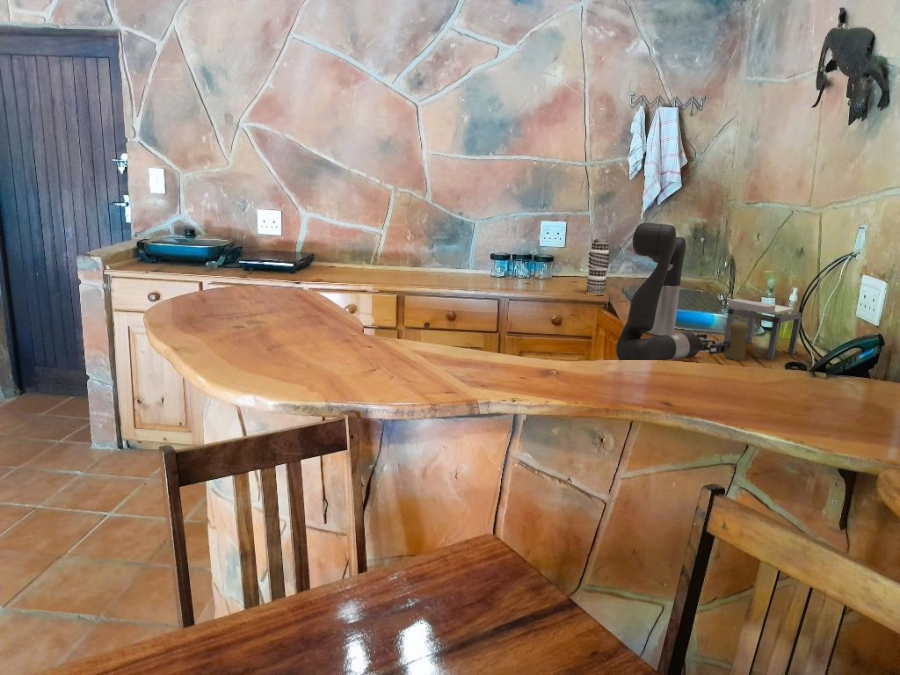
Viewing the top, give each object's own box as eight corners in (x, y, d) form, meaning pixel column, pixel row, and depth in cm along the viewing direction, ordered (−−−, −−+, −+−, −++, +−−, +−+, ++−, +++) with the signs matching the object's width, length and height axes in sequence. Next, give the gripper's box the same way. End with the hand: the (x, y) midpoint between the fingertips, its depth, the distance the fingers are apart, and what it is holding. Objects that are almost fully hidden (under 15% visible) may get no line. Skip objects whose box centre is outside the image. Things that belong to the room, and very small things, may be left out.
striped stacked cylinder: (584, 295, 292) (589, 239, 286) (586, 292, 300) (591, 237, 294) (604, 297, 289) (610, 240, 283) (606, 293, 298) (611, 239, 292)
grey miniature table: (722, 348, 207) (728, 308, 204) (747, 342, 217) (753, 304, 213) (771, 360, 195) (778, 318, 192) (795, 353, 205) (802, 313, 202)
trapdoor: (727, 309, 200) (728, 299, 199) (756, 304, 211) (757, 295, 210) (765, 317, 191) (767, 307, 190) (793, 311, 202) (795, 301, 201)
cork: (728, 353, 201) (734, 319, 198) (748, 358, 197) (754, 323, 194) (720, 357, 197) (725, 321, 194) (740, 361, 193) (746, 325, 190)
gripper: (700, 339, 177) (740, 334, 184) (661, 327, 189) (699, 323, 197) (696, 365, 179) (736, 359, 186) (658, 352, 191) (696, 347, 198)
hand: (717, 340), depth 191 cm, fingers open, 8 cm apart
